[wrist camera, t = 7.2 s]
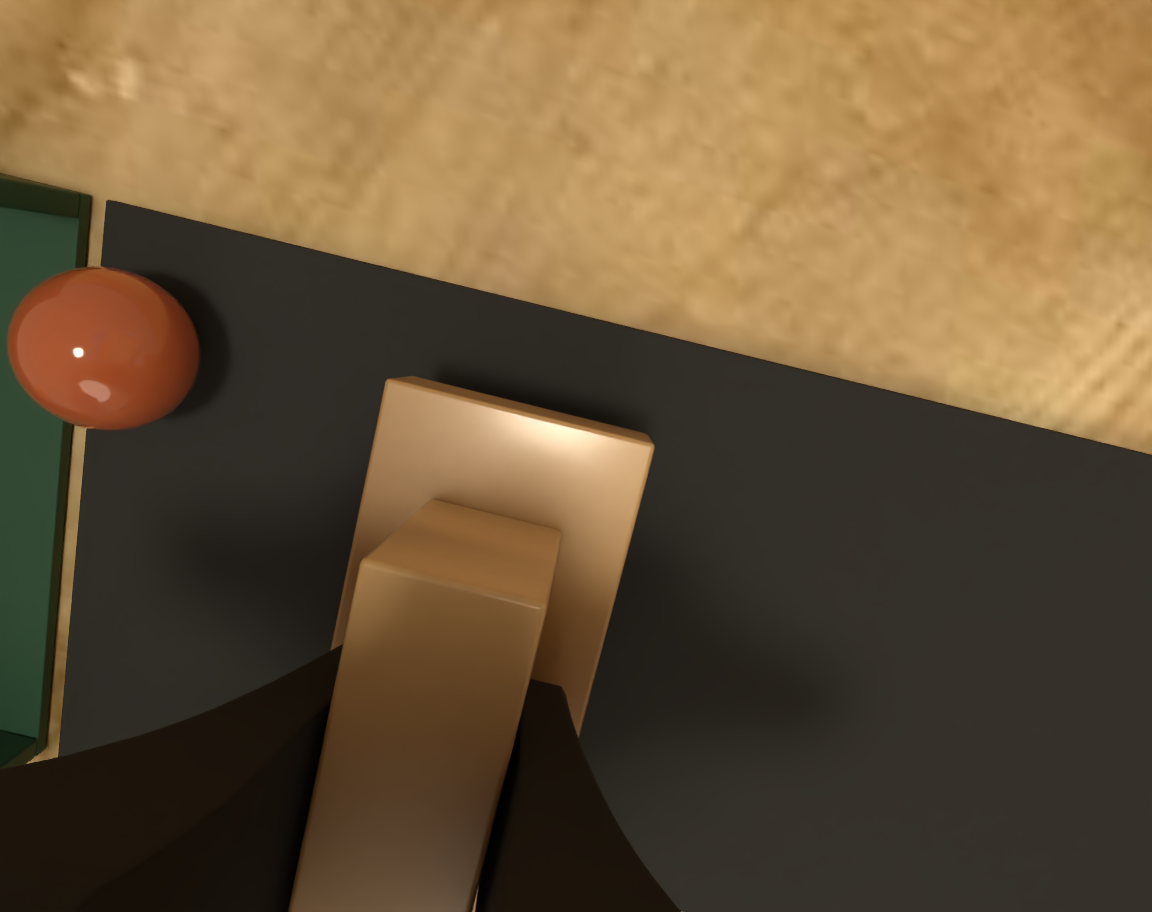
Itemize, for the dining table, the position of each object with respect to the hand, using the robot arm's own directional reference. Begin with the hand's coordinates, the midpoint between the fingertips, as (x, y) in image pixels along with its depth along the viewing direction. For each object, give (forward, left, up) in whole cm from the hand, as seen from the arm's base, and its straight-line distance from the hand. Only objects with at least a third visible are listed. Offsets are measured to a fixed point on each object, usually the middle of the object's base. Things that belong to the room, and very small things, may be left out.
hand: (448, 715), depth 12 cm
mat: (0, -4, -4) cm, 6 cm away
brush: (0, 0, -3) cm, 3 cm away
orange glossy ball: (+4, +8, -3) cm, 9 cm away
